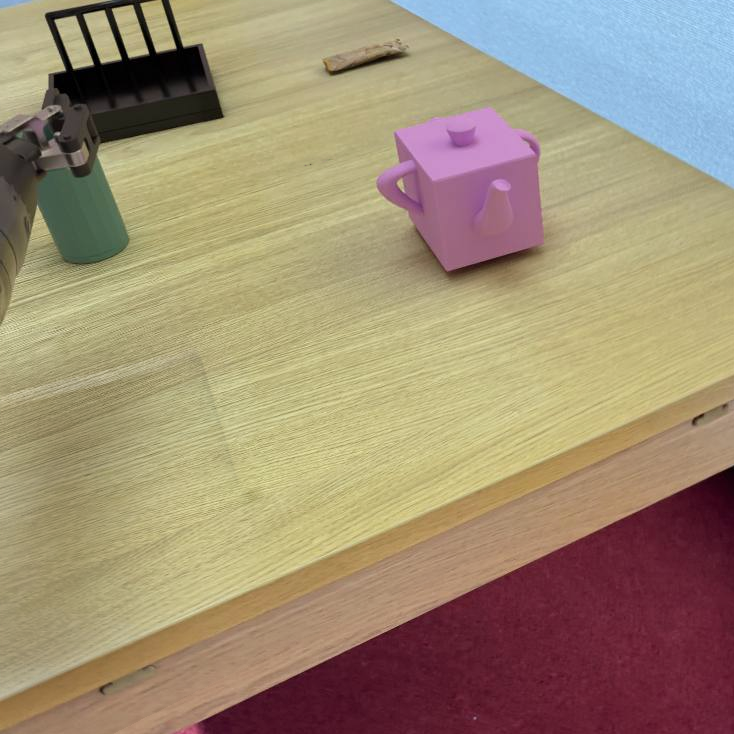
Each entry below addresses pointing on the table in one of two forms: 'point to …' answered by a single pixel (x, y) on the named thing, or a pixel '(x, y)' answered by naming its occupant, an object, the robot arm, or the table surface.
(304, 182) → the table surface
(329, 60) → the snack bar
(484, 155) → the teapot
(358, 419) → the table surface
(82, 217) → the jar
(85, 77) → the dish rack
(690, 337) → the table surface
